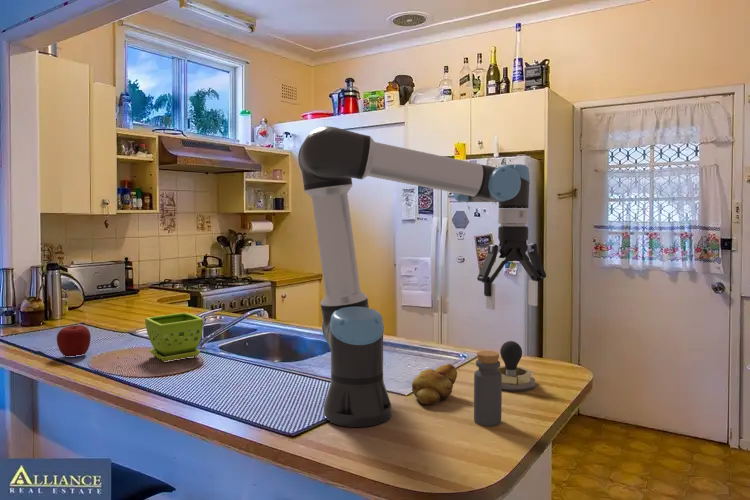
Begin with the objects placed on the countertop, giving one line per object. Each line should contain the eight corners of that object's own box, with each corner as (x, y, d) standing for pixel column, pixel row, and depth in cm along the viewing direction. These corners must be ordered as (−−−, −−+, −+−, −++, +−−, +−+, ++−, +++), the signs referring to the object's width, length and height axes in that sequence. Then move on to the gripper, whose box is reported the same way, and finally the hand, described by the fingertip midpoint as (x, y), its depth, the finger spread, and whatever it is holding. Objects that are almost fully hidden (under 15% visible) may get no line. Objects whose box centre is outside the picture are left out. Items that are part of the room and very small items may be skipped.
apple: (53, 361, 169) (51, 329, 169) (63, 353, 179) (61, 323, 178) (86, 359, 172) (85, 327, 171) (94, 351, 181) (93, 321, 180)
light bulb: (500, 381, 142) (500, 343, 142) (499, 375, 148) (500, 338, 147) (522, 382, 141) (523, 344, 140) (521, 376, 147) (521, 339, 146)
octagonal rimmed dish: (506, 394, 137) (506, 380, 136) (478, 381, 148) (478, 368, 147) (545, 387, 142) (545, 374, 142) (515, 375, 153) (515, 362, 152)
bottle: (484, 428, 115) (484, 357, 114) (468, 418, 121) (469, 351, 120) (506, 423, 118) (507, 354, 117) (490, 414, 123) (491, 348, 122)
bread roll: (437, 410, 126) (437, 376, 126) (400, 403, 131) (400, 370, 131) (459, 394, 137) (460, 363, 137) (425, 388, 142) (425, 357, 142)
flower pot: (145, 357, 174) (143, 317, 173) (188, 349, 183) (187, 311, 182) (160, 366, 164) (159, 324, 163) (205, 358, 173) (204, 318, 172)
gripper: (481, 226, 133) (480, 313, 135) (561, 225, 144) (559, 305, 145) (464, 225, 140) (463, 308, 142) (541, 224, 150) (539, 301, 152)
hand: (512, 307), depth 143 cm, fingers open, 13 cm apart
